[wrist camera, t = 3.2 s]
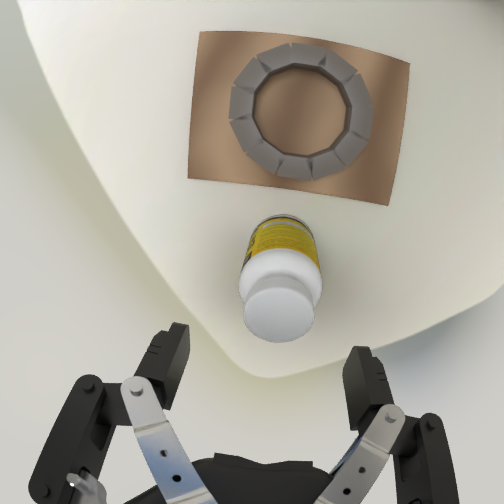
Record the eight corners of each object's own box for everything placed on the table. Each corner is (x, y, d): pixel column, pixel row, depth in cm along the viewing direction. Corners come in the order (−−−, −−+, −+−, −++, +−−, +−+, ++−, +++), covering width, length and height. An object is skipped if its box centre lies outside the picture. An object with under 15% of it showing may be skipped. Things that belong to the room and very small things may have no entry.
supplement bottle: (247, 214, 23) (225, 275, 14) (314, 212, 22) (333, 274, 14) (252, 271, 25) (235, 350, 17) (312, 271, 25) (324, 350, 16)
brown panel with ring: (404, 65, 16) (420, 59, 13) (384, 202, 21) (396, 214, 19) (203, 35, 17) (192, 24, 14) (191, 175, 22) (178, 183, 19)
